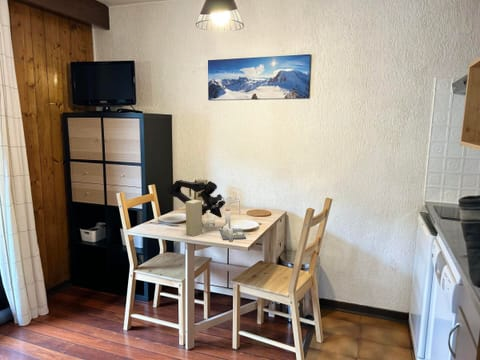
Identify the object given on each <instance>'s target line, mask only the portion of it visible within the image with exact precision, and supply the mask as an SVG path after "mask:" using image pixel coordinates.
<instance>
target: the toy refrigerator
mask: <svg viewBox="0 0 480 360" xmlns="http://www.w3.org/2000/svg"><path fill="white" fill-rule="evenodd" d="M202 204H203V200H199V199H191V201H187V202H186V204H185V226H186V227H185V228H186V229H185V231H186V235H189V236H191V237H195V236H198V235H202V234H203V226H202V225H203V216H202Z"/></svg>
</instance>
